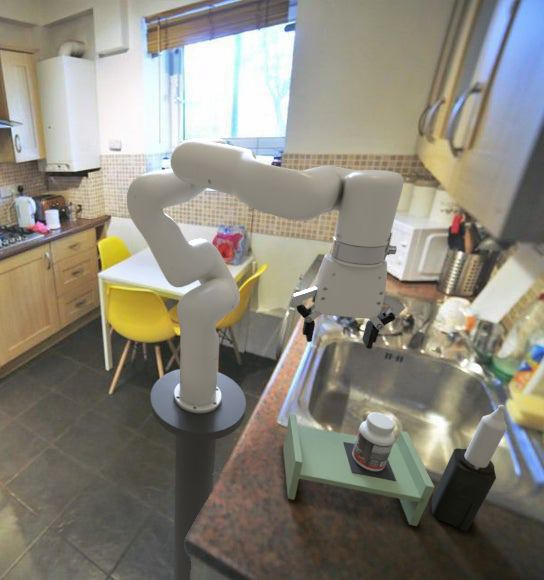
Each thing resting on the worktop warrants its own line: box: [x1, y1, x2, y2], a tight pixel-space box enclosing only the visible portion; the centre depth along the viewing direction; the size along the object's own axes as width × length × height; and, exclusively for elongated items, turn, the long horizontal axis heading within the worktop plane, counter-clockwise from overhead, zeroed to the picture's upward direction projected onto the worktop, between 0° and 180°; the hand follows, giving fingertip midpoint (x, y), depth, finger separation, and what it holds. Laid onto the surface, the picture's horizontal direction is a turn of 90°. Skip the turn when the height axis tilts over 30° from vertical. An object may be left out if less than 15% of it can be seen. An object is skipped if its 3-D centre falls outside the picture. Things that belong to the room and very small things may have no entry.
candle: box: [431, 404, 508, 531], centre depth 60 cm, size 5×5×25 cm
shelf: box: [282, 413, 436, 527], centre depth 69 cm, size 12×21×10 cm, turn 75°
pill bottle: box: [352, 411, 396, 471], centre depth 65 cm, size 5×5×10 cm
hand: (336, 341), depth 66 cm, fingers open, 9 cm apart
